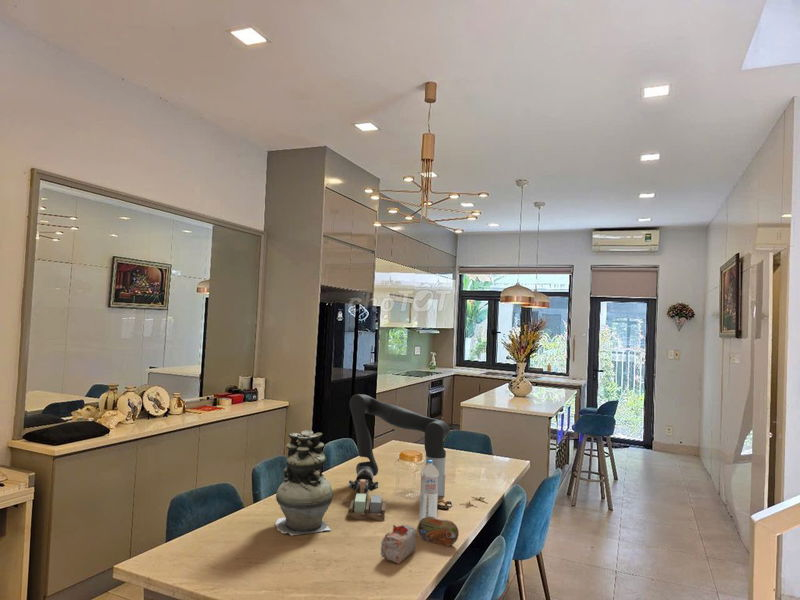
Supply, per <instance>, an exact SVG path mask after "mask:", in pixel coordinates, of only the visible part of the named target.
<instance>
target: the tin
mask: <svg viewBox="0 0 800 600" xmlns="http://www.w3.org/2000/svg"><path fill="white" fill-rule="evenodd" d="M417 531H418V535H419V537H420V538H421V539H422V540H423V541H425V542H428V543H431V544H435V545H440V546H443V547H451V546H453V545H454V544H455V543H456V542H457V541H458V539H459V536H460V535H459V528H458V526H457V524H456V523H454V522H453V521H452V520H448V519H444V518H440V517H437V518H435V517H426V518H423V519H422V520H421V521H420V522H419V521H418V525H417Z"/></svg>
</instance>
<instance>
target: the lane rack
mask: <svg viewBox="0 0 800 600" xmlns="http://www.w3.org/2000/svg"><path fill="white" fill-rule="evenodd" d="M354 505H355V498H354V499H352V498H351V502H350V505H349V511H348V519H349V518H352V519H353V520H368V519H376V520H375V521H385V515H386V500H382V502H381V513H380V514H374V513H370V507H371V499H369V500H368V499H366V509H365V513H354Z"/></svg>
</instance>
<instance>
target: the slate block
mask: <svg viewBox="0 0 800 600" xmlns="http://www.w3.org/2000/svg"><path fill="white" fill-rule="evenodd" d="M369 513H374V514H382V495H380V494H379V495H377V494H375V495H374V494H372V495H371V497H370V511H369Z"/></svg>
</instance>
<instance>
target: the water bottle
mask: <svg viewBox="0 0 800 600" xmlns="http://www.w3.org/2000/svg"><path fill="white" fill-rule="evenodd" d="M432 463H433V461H432V460H428V464H427V465H426V466H425V465H424V467H423V468H421V471H420V491H419V509H418V510H419V511H418V512H419V513H418V523H419V522H420V521H421V520H422V519H423V518H426V517H435V518H438V517H437V515H438V499H439V497H438V476H439V472H438V470H437V468H436V467H435V466H434V465H432Z"/></svg>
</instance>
